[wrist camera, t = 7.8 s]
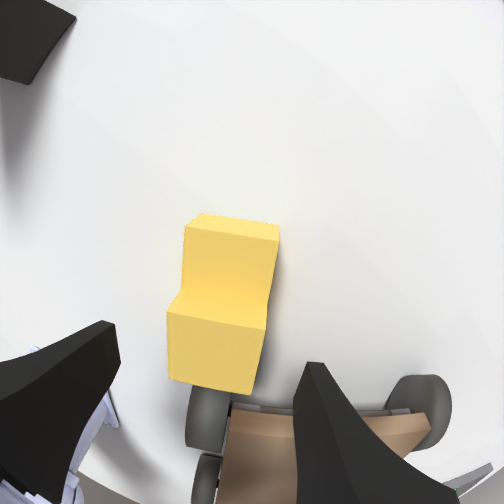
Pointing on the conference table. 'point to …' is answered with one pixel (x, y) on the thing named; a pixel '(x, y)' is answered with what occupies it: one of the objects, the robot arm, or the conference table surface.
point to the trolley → (282, 439)
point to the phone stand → (28, 36)
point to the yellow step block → (221, 303)
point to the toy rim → (469, 479)
